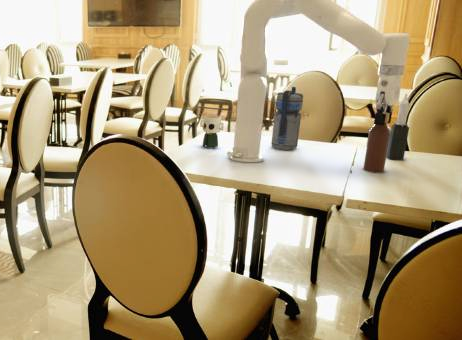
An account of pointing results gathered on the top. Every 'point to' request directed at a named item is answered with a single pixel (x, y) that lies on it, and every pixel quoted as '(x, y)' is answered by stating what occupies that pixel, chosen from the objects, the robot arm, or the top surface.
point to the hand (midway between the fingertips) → (382, 123)
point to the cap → (387, 117)
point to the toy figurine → (211, 130)
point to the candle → (399, 133)
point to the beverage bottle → (287, 120)
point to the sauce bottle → (377, 148)
